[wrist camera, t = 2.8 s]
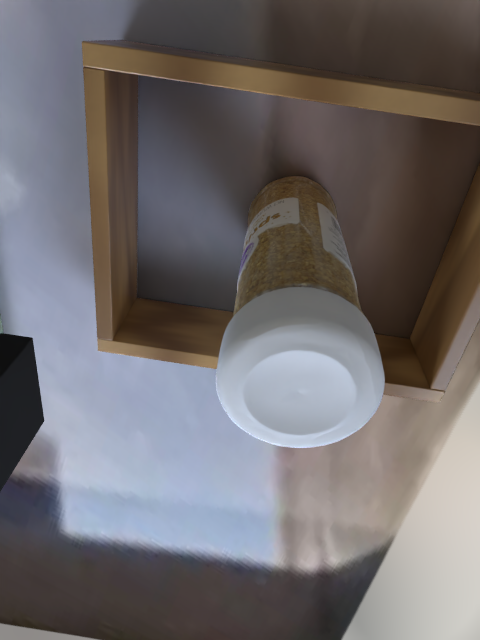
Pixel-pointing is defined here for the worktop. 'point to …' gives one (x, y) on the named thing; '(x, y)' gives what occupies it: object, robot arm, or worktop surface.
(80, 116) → the worktop surface
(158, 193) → the worktop surface
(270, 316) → the spice bottle
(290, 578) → the worktop surface
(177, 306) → the wooden tray
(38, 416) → the robot arm
